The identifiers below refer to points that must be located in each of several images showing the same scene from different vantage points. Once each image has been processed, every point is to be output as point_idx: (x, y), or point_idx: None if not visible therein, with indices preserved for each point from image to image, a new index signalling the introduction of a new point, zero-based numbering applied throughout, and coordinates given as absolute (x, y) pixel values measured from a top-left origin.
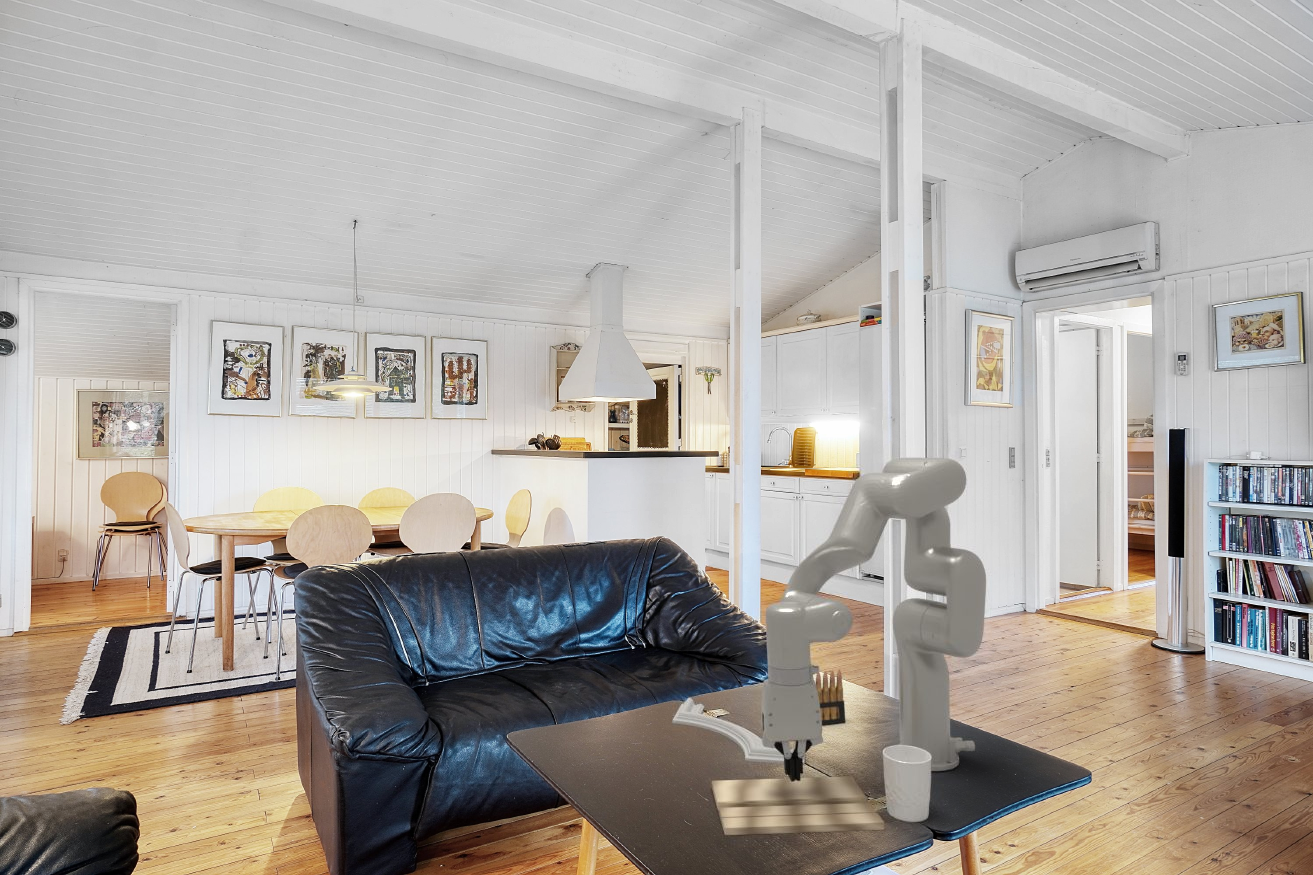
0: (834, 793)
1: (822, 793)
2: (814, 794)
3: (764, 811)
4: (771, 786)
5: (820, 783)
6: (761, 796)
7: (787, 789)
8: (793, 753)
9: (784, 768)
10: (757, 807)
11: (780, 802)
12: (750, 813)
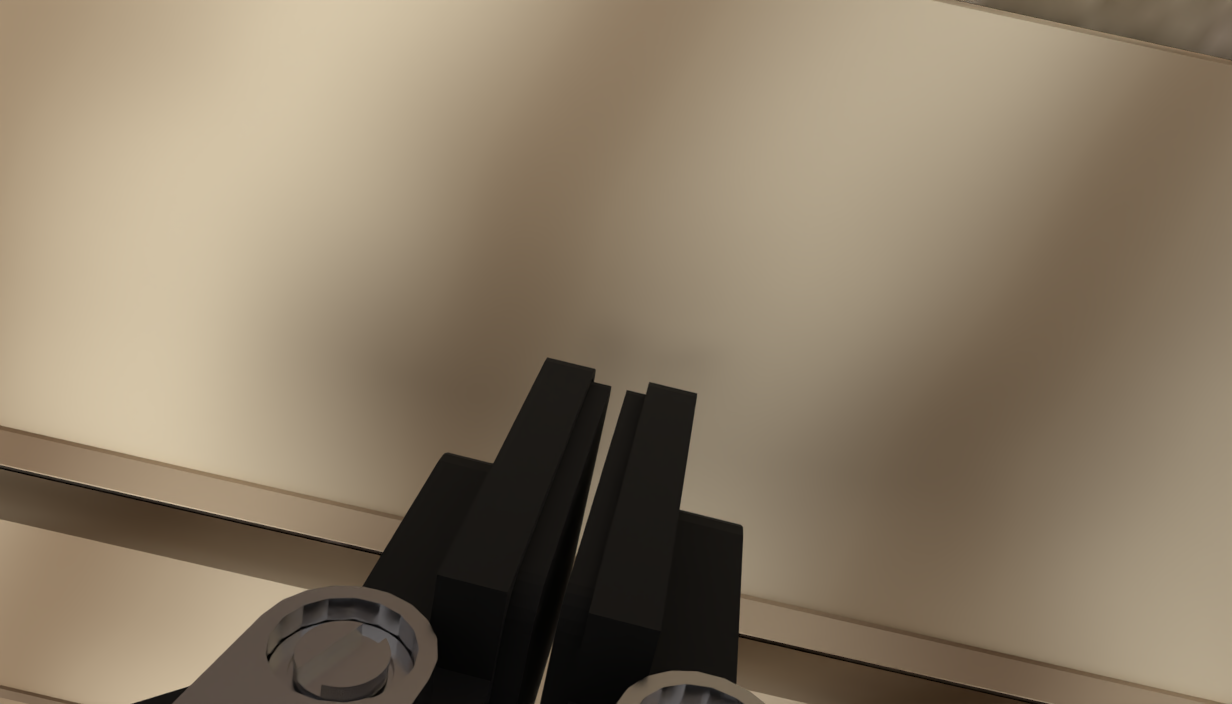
0: (1106, 557)
1: (957, 517)
2: (845, 505)
3: (149, 643)
4: (380, 152)
5: (1121, 265)
6: (182, 362)
7: (566, 297)
8: (570, 685)
9: (438, 465)
10: (95, 552)
11: (366, 543)
12: (3, 637)
